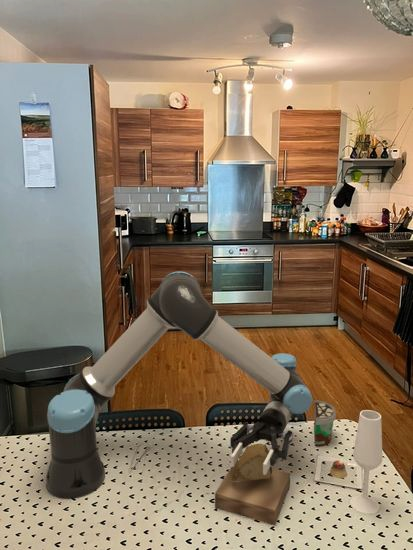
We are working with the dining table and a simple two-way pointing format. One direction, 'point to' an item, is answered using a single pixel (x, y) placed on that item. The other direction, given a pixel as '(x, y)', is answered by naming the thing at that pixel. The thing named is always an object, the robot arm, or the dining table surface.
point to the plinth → (254, 496)
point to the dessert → (338, 470)
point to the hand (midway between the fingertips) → (248, 465)
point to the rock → (251, 464)
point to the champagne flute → (367, 456)
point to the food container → (323, 423)
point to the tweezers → (140, 456)
